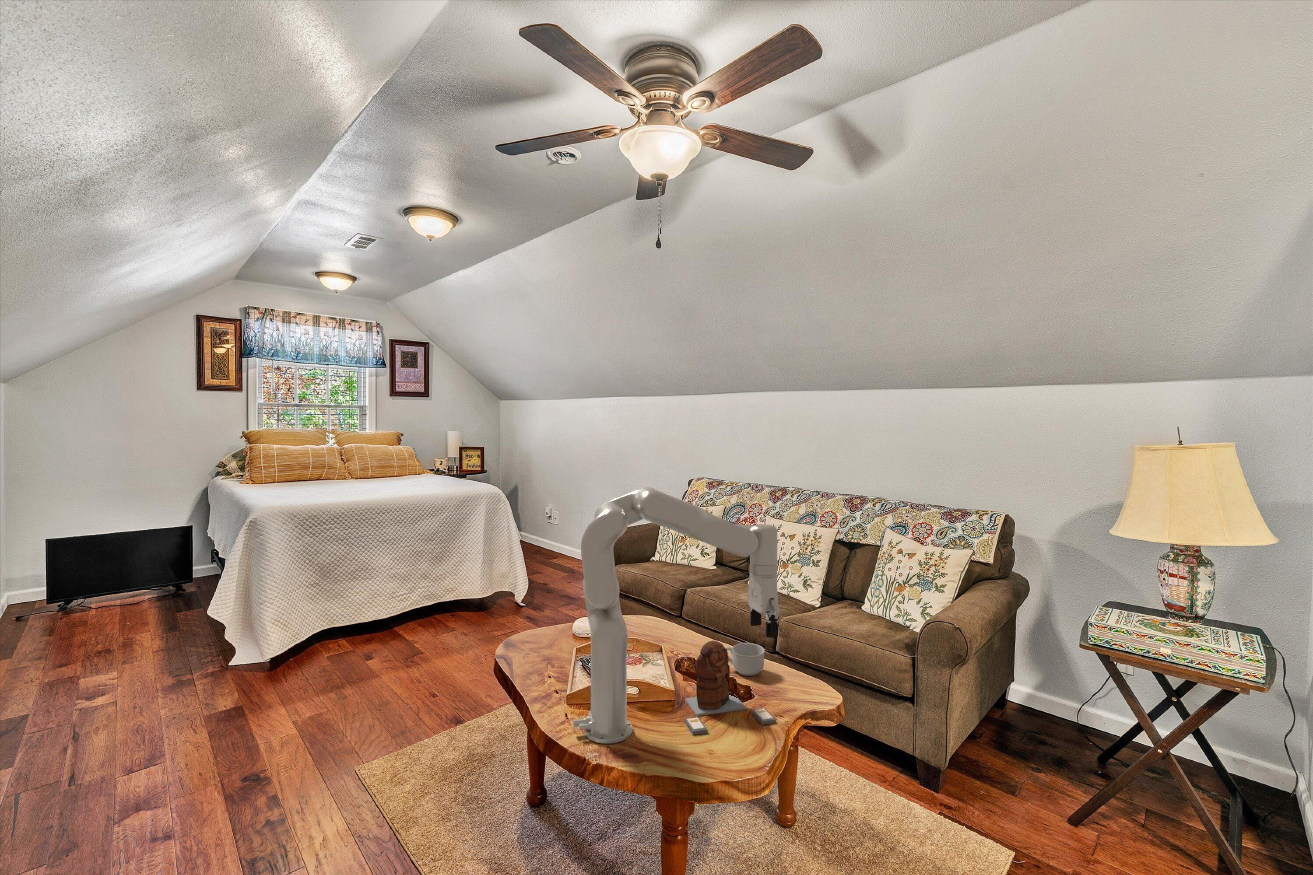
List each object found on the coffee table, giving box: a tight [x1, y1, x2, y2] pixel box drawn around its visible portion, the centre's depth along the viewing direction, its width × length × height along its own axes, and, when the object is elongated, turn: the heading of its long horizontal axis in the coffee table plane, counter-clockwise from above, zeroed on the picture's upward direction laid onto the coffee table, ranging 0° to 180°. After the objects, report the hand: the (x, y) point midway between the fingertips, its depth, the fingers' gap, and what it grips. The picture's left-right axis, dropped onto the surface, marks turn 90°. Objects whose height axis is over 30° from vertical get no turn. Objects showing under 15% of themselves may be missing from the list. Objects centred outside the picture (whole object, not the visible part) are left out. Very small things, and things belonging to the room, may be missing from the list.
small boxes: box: [683, 707, 777, 736], centre depth 159 cm, size 24×7×1 cm, turn 106°
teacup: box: [724, 642, 766, 677], centre depth 193 cm, size 14×11×8 cm
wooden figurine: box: [695, 640, 731, 710], centre depth 169 cm, size 12×6×18 cm, turn 142°
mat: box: [685, 695, 747, 717], centre depth 169 cm, size 15×10×1 cm, turn 106°
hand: (763, 630), depth 161 cm, fingers open, 9 cm apart
